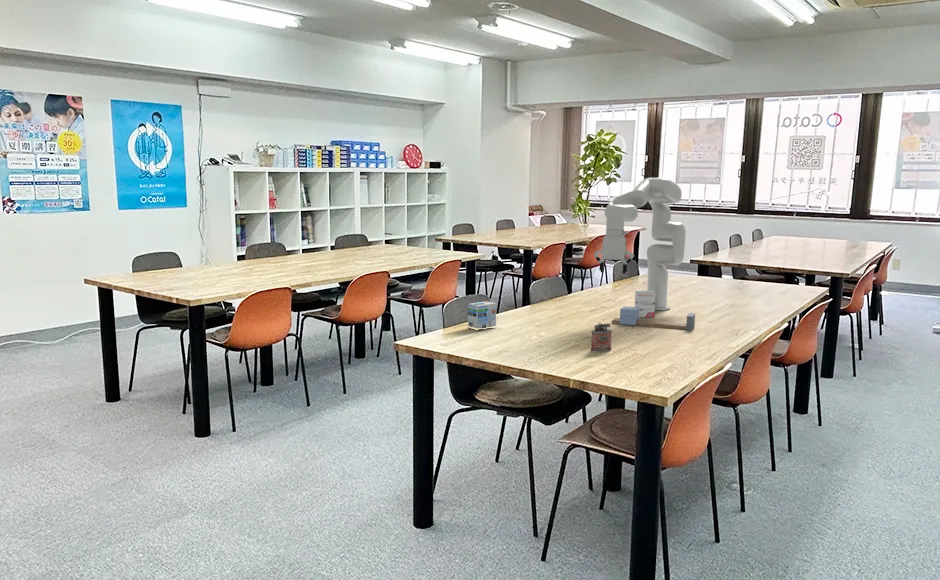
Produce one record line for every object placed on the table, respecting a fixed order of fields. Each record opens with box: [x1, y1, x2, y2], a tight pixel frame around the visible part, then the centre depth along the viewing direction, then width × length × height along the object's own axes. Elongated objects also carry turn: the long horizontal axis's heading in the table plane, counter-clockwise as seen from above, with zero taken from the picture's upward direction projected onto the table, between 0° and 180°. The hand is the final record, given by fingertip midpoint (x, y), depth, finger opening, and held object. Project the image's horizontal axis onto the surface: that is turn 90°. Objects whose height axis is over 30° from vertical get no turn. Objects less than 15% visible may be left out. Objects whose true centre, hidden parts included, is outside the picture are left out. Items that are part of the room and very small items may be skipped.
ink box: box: [634, 289, 656, 318], centre depth 325 cm, size 9×5×12 cm, turn 84°
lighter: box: [590, 323, 613, 352], centre depth 259 cm, size 8×3×10 cm, turn 106°
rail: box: [611, 312, 696, 332], centre depth 305 cm, size 8×34×6 cm, turn 67°
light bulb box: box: [467, 300, 497, 329], centre depth 297 cm, size 11×7×11 cm, turn 129°
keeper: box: [618, 306, 640, 326], centre depth 308 cm, size 8×7×6 cm
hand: (613, 272), depth 308 cm, fingers open, 9 cm apart
